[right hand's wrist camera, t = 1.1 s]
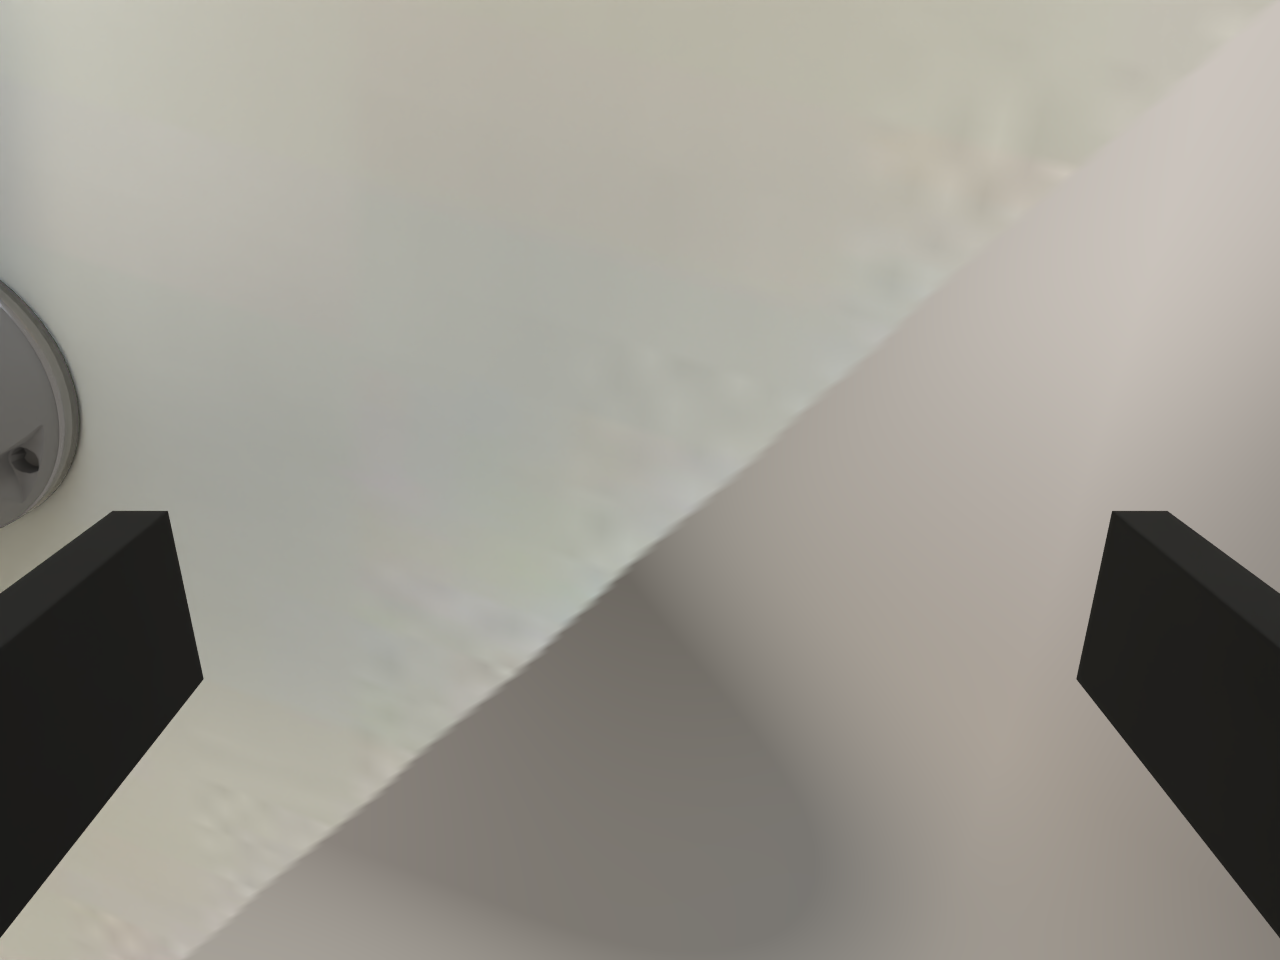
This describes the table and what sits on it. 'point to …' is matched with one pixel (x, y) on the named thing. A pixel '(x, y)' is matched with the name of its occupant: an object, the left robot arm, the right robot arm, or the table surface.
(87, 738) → the right robot arm
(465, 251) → the table surface
